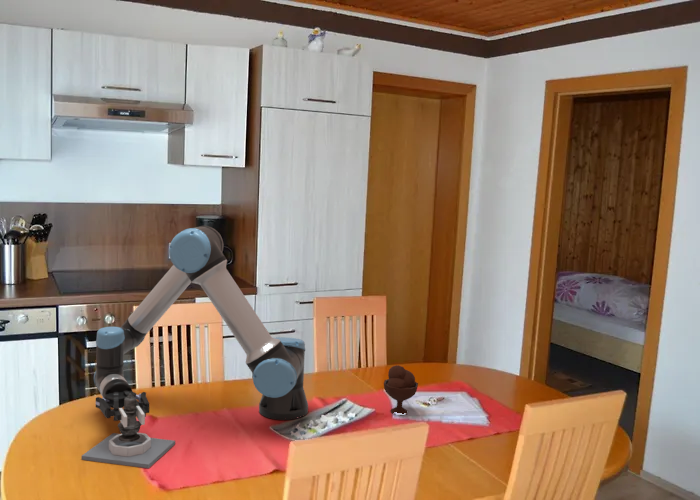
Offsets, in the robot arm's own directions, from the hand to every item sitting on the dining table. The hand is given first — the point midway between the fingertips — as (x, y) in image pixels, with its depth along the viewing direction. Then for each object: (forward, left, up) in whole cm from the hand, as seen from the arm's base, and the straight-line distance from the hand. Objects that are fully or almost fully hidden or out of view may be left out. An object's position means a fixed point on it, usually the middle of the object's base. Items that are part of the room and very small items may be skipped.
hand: (134, 420), depth 165 cm
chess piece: (+4, -4, -7) cm, 9 cm away
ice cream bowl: (-62, -54, -10) cm, 82 cm away
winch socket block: (+3, -4, -10) cm, 12 cm away
